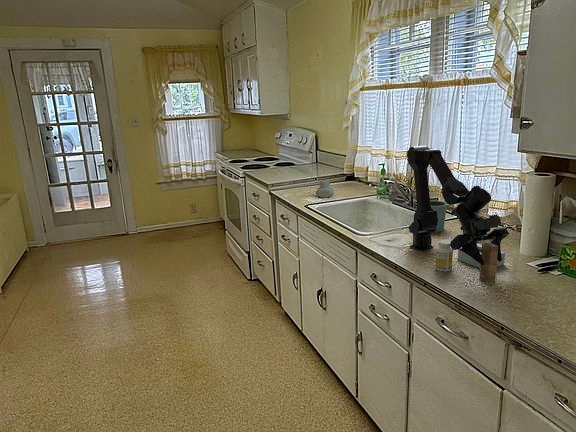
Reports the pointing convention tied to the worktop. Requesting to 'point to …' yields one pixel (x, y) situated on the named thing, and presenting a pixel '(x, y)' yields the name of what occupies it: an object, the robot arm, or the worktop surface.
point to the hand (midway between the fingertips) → (492, 262)
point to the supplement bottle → (444, 256)
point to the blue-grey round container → (439, 213)
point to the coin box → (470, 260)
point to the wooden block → (488, 263)
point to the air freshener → (324, 189)
